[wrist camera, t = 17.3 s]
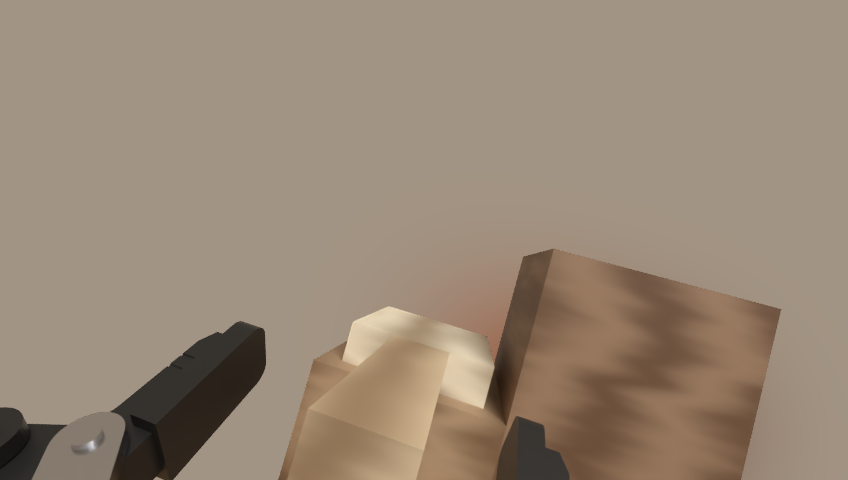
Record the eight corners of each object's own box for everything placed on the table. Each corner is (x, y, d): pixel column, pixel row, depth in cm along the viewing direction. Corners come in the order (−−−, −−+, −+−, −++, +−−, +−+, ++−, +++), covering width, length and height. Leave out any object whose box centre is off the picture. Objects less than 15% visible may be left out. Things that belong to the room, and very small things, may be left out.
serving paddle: (479, 365, 31) (487, 336, 31) (498, 582, 9) (523, 487, 10) (381, 333, 33) (388, 306, 33) (199, 460, 11) (224, 377, 11)
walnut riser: (561, 683, 29) (660, 294, 30) (624, 970, 17) (780, 309, 19) (300, 569, 32) (399, 223, 34) (201, 742, 20) (361, 197, 22)
